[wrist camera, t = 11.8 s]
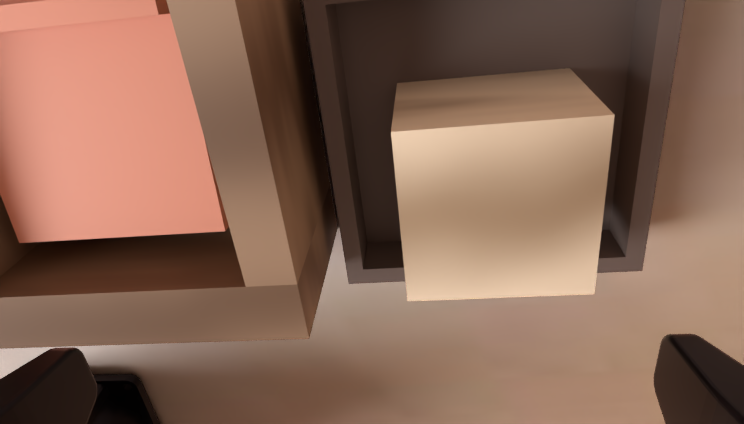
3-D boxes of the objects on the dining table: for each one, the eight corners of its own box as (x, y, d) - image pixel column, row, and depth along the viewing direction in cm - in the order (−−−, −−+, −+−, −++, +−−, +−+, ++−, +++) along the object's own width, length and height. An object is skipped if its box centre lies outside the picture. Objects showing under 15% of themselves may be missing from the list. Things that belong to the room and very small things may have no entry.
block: (559, 218, 20) (594, 294, 16) (409, 226, 20) (407, 301, 16) (569, 68, 17) (614, 115, 13) (397, 83, 18) (390, 132, 14)
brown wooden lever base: (337, 228, 22) (308, 338, 16) (73, 243, 23) (-38, 349, 17) (219, -489, 12) (56, -817, 7) (-211, -391, 14) (-640, -599, 8)
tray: (617, 231, 21) (642, 270, 18) (356, 245, 22) (348, 283, 20) (655, -65, 16) (695, -61, 14) (316, -26, 17) (300, -16, 15)
